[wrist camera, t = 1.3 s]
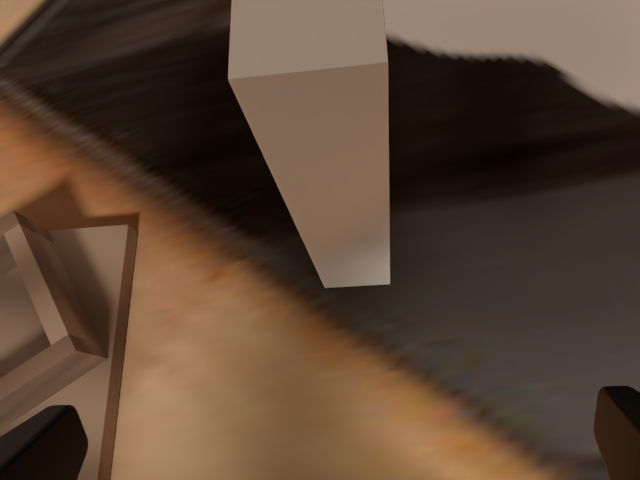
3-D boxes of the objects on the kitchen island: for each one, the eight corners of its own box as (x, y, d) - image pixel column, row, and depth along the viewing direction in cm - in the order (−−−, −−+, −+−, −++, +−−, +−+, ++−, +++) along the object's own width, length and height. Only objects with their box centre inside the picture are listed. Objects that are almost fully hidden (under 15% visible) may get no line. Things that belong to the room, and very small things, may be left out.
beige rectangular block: (390, 284, 23) (387, 62, 9) (324, 287, 23) (227, 79, 10) (384, 204, 25) (374, -93, 11) (322, 209, 25) (235, -73, 11)
